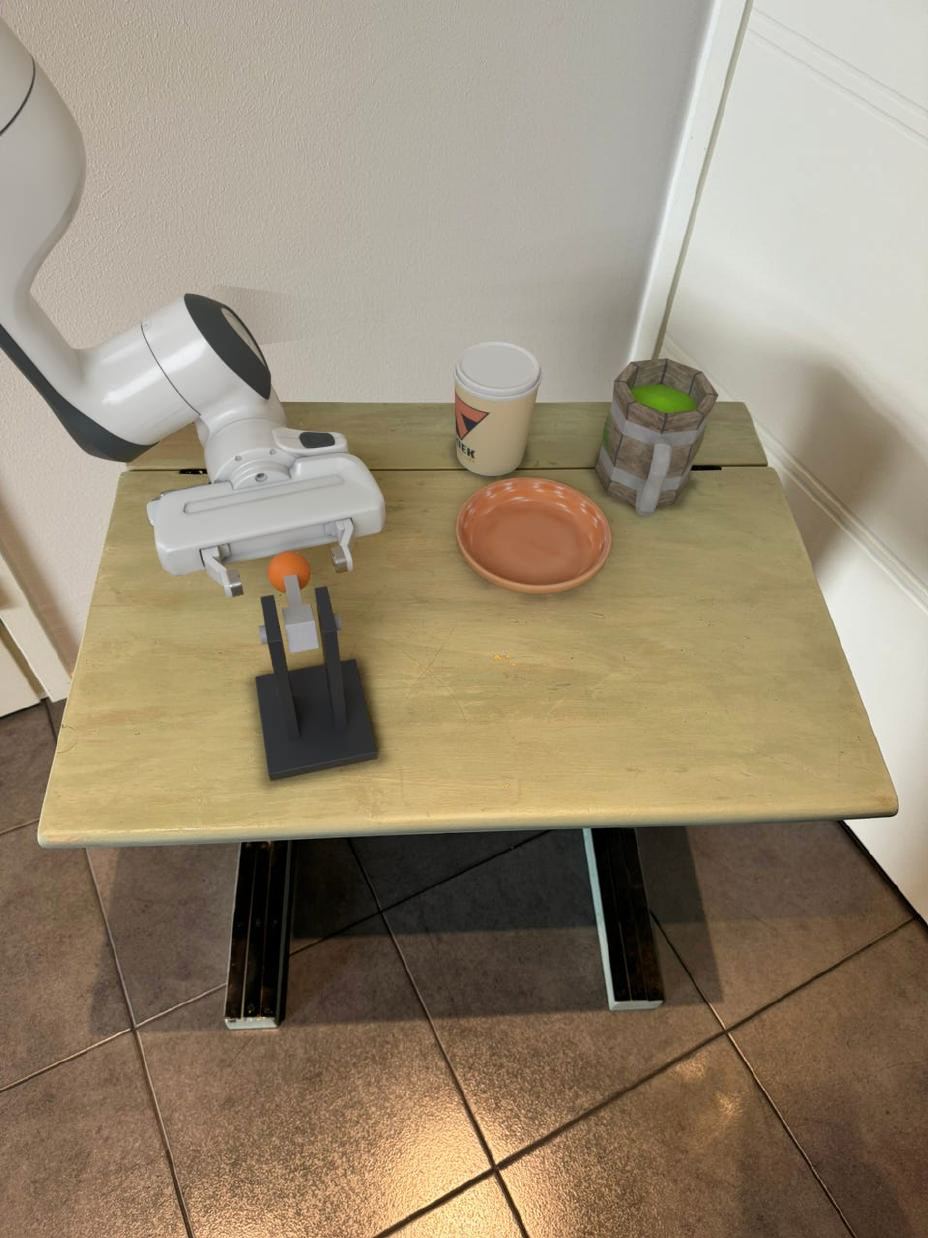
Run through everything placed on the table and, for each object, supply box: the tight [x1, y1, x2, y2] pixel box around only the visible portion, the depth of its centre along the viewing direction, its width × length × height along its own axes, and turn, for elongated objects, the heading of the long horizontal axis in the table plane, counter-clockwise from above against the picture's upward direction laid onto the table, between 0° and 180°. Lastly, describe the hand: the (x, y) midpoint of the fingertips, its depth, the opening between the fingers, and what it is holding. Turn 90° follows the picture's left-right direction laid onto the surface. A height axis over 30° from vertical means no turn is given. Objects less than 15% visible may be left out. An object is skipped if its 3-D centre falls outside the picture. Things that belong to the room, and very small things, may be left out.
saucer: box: [455, 476, 613, 595], centre depth 86 cm, size 16×16×3 cm
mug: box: [593, 357, 719, 518], centre depth 89 cm, size 16×11×12 cm
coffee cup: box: [452, 340, 543, 477], centre depth 92 cm, size 9×9×12 cm
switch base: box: [254, 585, 378, 782], centre depth 67 cm, size 10×9×15 cm
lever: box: [267, 551, 320, 654], centre depth 67 cm, size 13×4×4 cm, turn 15°
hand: (290, 579), depth 71 cm, fingers open, 8 cm apart
